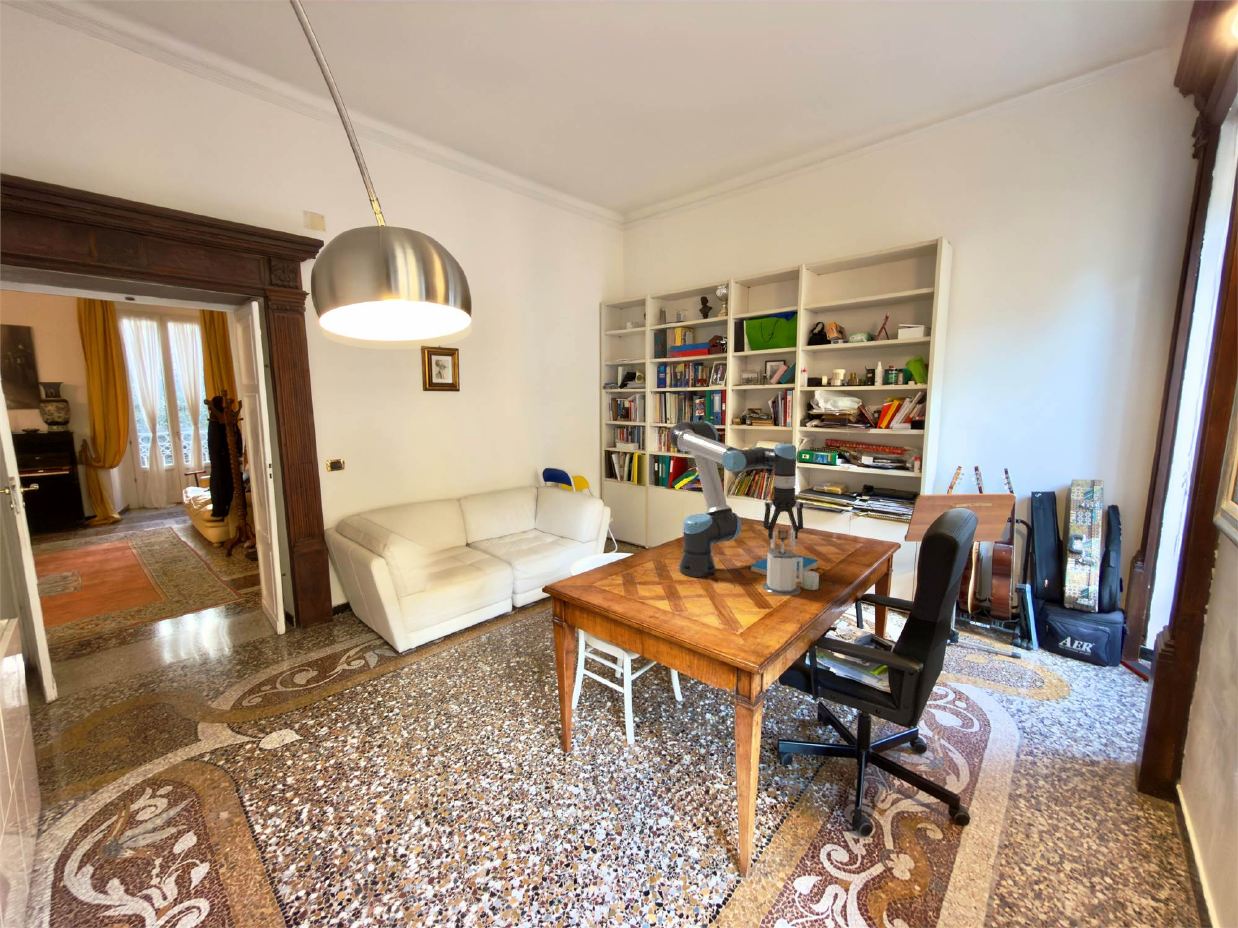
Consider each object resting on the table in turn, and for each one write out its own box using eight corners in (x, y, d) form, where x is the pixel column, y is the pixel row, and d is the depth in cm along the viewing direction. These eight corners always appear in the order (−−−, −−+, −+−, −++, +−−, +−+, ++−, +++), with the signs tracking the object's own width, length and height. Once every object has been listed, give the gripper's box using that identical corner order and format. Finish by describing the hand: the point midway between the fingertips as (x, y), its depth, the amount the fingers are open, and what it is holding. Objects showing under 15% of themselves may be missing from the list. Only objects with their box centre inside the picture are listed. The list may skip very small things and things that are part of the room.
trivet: (757, 582, 189) (757, 580, 188) (793, 582, 188) (794, 580, 188) (767, 597, 175) (767, 595, 175) (806, 597, 174) (806, 595, 174)
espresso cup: (799, 585, 185) (799, 570, 184) (814, 585, 185) (815, 570, 184) (805, 593, 178) (806, 578, 177) (822, 593, 177) (822, 578, 177)
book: (818, 559, 203) (788, 574, 186) (817, 569, 204) (788, 584, 187) (781, 550, 216) (750, 563, 199) (780, 560, 216) (749, 573, 200)
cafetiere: (763, 582, 187) (764, 548, 185) (796, 582, 186) (798, 547, 184) (771, 593, 176) (772, 557, 174) (806, 593, 176) (807, 556, 174)
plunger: (775, 569, 182) (776, 529, 180) (785, 569, 182) (786, 528, 180) (778, 572, 179) (779, 531, 176) (788, 572, 178) (789, 531, 176)
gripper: (760, 488, 173) (758, 550, 176) (815, 488, 172) (812, 550, 175) (755, 484, 180) (753, 544, 183) (807, 484, 179) (805, 544, 182)
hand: (782, 547), depth 179 cm, fingers open, 7 cm apart
